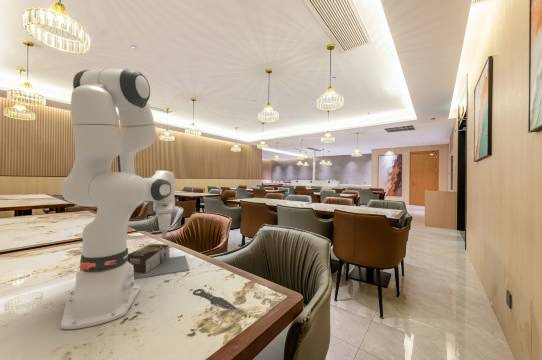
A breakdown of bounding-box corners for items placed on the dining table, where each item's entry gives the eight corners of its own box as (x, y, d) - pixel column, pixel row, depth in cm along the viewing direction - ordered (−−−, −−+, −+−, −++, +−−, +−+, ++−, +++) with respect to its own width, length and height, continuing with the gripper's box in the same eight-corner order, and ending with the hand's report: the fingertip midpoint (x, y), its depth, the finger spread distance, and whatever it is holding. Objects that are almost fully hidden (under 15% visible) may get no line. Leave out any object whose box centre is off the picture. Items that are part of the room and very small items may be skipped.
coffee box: (169, 244, 103) (146, 256, 87) (169, 258, 103) (146, 273, 87) (150, 242, 104) (124, 255, 88) (150, 256, 104) (124, 271, 88)
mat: (189, 270, 91) (189, 269, 91) (131, 279, 82) (131, 278, 82) (185, 256, 106) (185, 255, 106) (135, 262, 97) (135, 262, 97)
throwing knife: (200, 289, 77) (200, 287, 77) (245, 309, 66) (246, 307, 66) (189, 294, 74) (189, 292, 74) (235, 316, 63) (235, 314, 63)
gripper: (156, 203, 110) (156, 231, 110) (156, 209, 92) (155, 243, 92) (170, 203, 113) (170, 230, 113) (173, 209, 95) (172, 242, 95)
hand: (164, 236), depth 103 cm, fingers closed
